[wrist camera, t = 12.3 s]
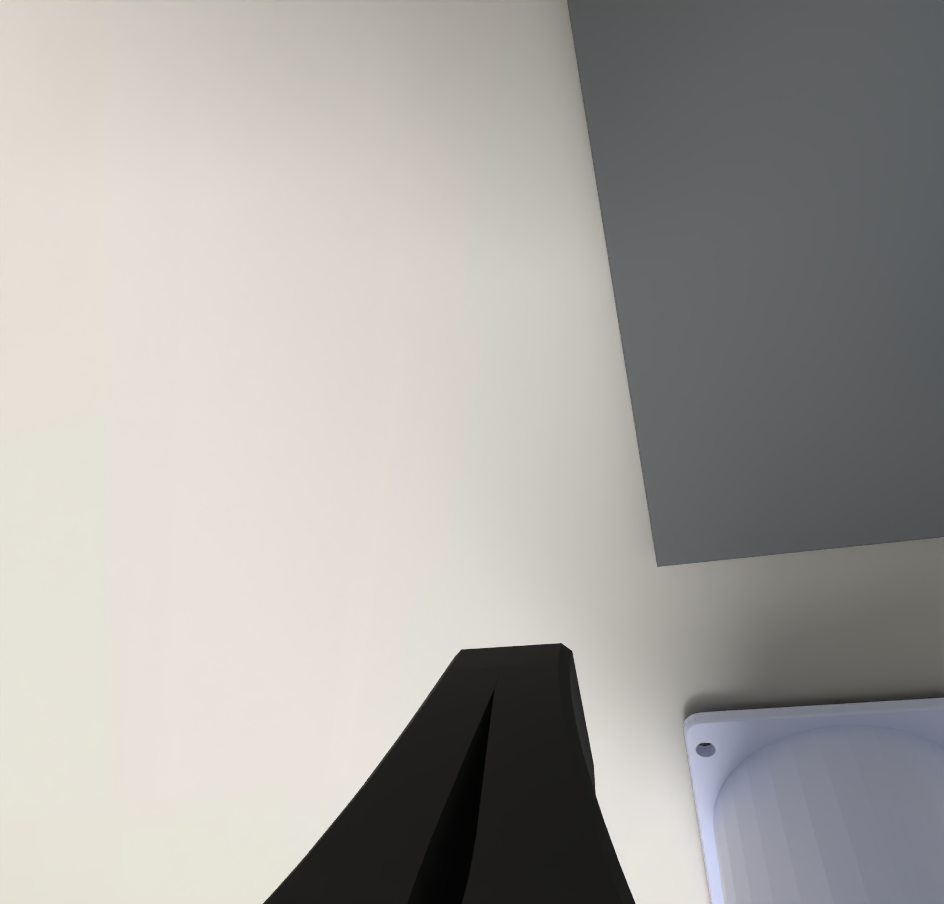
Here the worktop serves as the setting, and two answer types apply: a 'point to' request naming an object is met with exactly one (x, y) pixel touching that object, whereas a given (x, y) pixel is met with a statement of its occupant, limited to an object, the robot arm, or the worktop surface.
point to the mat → (775, 263)
